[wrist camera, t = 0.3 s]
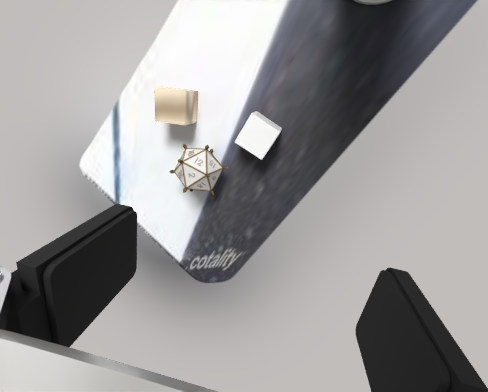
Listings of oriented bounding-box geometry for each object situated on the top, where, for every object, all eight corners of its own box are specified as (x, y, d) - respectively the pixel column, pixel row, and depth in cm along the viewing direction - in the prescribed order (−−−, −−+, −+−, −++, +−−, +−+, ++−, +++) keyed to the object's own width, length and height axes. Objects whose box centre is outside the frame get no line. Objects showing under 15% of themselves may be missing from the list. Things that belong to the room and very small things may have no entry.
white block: (256, 111, 42) (251, 113, 37) (282, 128, 42) (280, 132, 37) (240, 137, 44) (234, 141, 39) (265, 153, 44) (261, 160, 39)
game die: (212, 169, 51) (186, 209, 46) (182, 137, 46) (149, 178, 41) (244, 161, 44) (218, 207, 40) (212, 123, 40) (179, 170, 35)
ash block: (169, 87, 43) (154, 86, 38) (198, 91, 42) (186, 90, 38) (169, 118, 45) (155, 121, 40) (196, 122, 44) (185, 125, 40)
